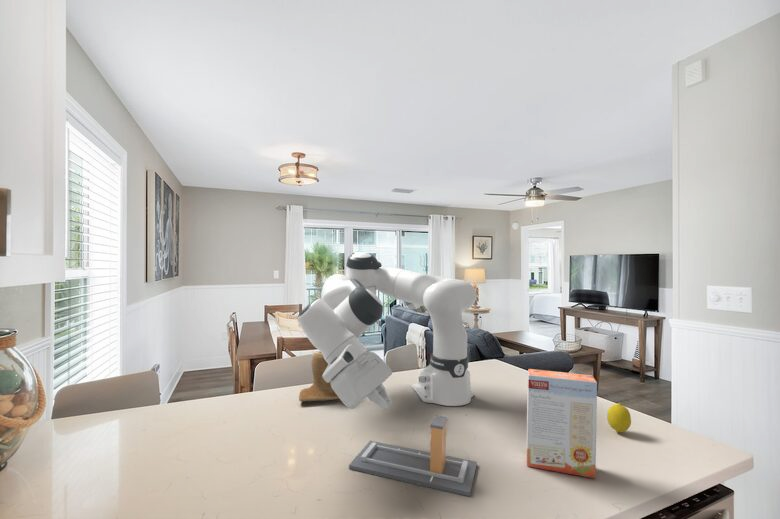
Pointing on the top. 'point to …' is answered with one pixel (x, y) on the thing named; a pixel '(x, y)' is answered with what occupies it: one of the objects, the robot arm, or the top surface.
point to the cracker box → (562, 422)
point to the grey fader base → (415, 467)
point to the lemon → (619, 417)
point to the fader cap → (438, 444)
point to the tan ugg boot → (318, 382)
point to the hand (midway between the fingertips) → (387, 406)
